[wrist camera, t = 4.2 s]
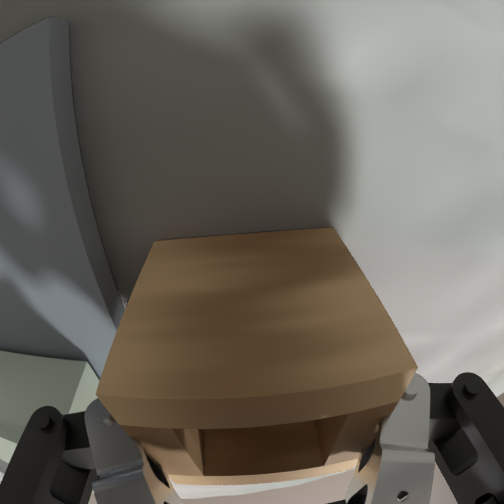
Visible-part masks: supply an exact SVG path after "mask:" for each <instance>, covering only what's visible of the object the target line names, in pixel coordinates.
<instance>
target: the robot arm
mask: <svg viewBox="0 0 504 504" xmlns="http://www.w3.org/2000/svg"><path fill="white" fill-rule="evenodd" d="M435 462H436V464H437V465H438V467H439V469H440V471H441V473H442V474H443V476H444V478H445V480H446V482H447V484H448V485H449V487H450V489H451V491H452V493H453V495H454V497H455V499H456V501H457V503H458V504H504V407H503V406H502V405H501V403H500V402H499V400H498V399H497V398H496V396H495V395H494V394H493V392H492V391H491V390H490V388H489V387H488V386H487V384H486V383H485V382H484V380H483V379H482V378H481V377H479V376H478V375H476V374H474V373H469V372H467V373H462V374H460V375H458V376H457V377H456V378H455V380H454V381H453V383H427V381H426V380H425V379H424V378H423V377H422V376H421V375H419V374H417V373H415V374H414V376H413V378H412V380H411V382H410V383H409V385H408V387H407V389H406V390H405V392H404V394H403V396H402V397H401V399H400V401H399V402H398V404H397V406H396V407H395V409H394V411H393V412H392V414H390V415H386V416H383V418H382V420H381V421H380V423H379V425H378V430H377V435H376V438H375V440H374V441H373V442H372V444H371V445H370V446H367V447H363V449H362V450H361V452H360V454H359V458H358V462H357V466H356V470H355V473H354V476H353V478H352V480H351V483H350V485H349V487H348V490H347V492H346V495H345V498H344V500H341V501H337V502H332V503H328V504H429V502H430V497H431V490H432V483H433V476H434V467H435ZM92 490H93V492H94V495H95V498H96V501H97V504H184V503H183V502H182V500H181V498H180V497H179V496H178V494H177V493H176V491H175V490H174V488H173V486H172V484H171V482H170V480H169V478H168V475H167V473H166V471H165V469H164V468H163V467H162V466H161V465H160V464H155V463H154V462H153V461H152V460H151V459H150V458H149V457H148V456H147V455H146V454H145V452H144V450H143V447H142V444H141V443H140V442H139V441H138V440H137V439H136V437H133V436H128V434H127V433H126V432H125V431H124V430H123V429H122V427H121V426H120V425H119V424H118V423H117V421H116V420H115V419H114V418H113V417H112V415H111V414H110V413H109V412H108V410H107V409H106V408H105V406H104V405H103V404H102V402H101V401H100V400H99V399H98V398H97V399H95V400H94V401H92V402H91V403H90V404H89V405H88V407H87V409H86V411H82V412H77V413H71V414H65V415H62V414H61V413H60V411H59V410H58V409H56V408H55V407H52V406H43V407H40V408H39V409H37V410H36V411H35V412H34V413H33V414H32V416H31V417H30V419H29V421H28V423H27V425H26V427H25V429H24V431H23V433H22V436H21V438H20V440H19V442H18V444H17V446H16V448H15V451H14V453H13V455H12V457H11V460H10V462H9V464H8V467H7V469H6V471H5V474H4V476H3V479H2V481H1V484H0V504H88V502H89V499H90V496H91V493H92ZM397 499H399V501H398V500H397Z"/></svg>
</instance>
